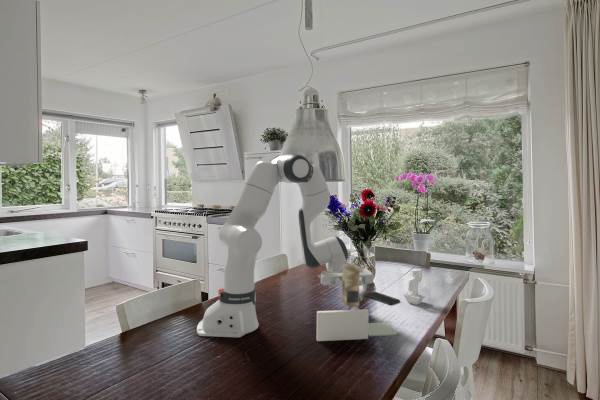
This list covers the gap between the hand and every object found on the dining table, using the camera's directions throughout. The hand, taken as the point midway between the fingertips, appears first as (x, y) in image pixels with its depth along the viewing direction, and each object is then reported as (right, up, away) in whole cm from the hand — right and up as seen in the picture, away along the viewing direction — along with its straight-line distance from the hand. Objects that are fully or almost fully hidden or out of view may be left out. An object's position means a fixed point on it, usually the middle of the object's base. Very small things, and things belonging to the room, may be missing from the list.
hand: (351, 283), depth 131 cm
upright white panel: (-4, -18, -6) cm, 19 cm away
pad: (+10, -17, +2) cm, 20 cm away
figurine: (+33, -16, +31) cm, 47 cm away
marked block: (0, -8, +1) cm, 8 cm away
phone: (+19, -16, +35) cm, 43 cm away
